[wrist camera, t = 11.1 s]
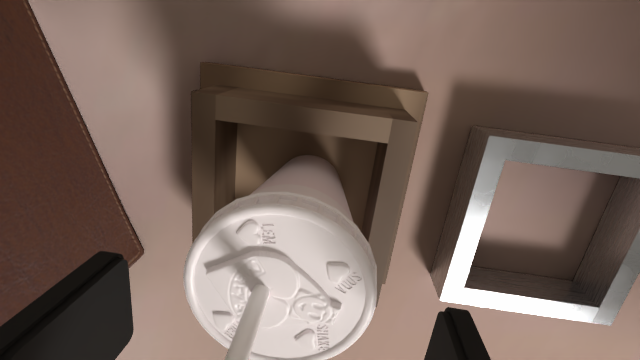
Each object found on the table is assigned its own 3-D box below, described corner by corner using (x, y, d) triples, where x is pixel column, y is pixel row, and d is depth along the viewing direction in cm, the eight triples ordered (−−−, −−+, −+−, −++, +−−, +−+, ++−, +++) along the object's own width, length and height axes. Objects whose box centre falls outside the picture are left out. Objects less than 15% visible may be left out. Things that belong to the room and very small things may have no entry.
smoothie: (272, 114, 19) (102, 257, 6) (382, 154, 19) (459, 374, 6) (242, 214, 21) (72, 480, 8) (341, 247, 21) (334, 557, 8)
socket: (424, 90, 19) (447, 102, 15) (383, 274, 23) (391, 324, 19) (207, 62, 19) (168, 64, 15) (206, 248, 23) (175, 292, 19)
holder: (654, 149, 19) (697, 163, 17) (583, 297, 23) (610, 325, 20) (472, 125, 19) (489, 135, 17) (430, 275, 23) (439, 300, 20)
